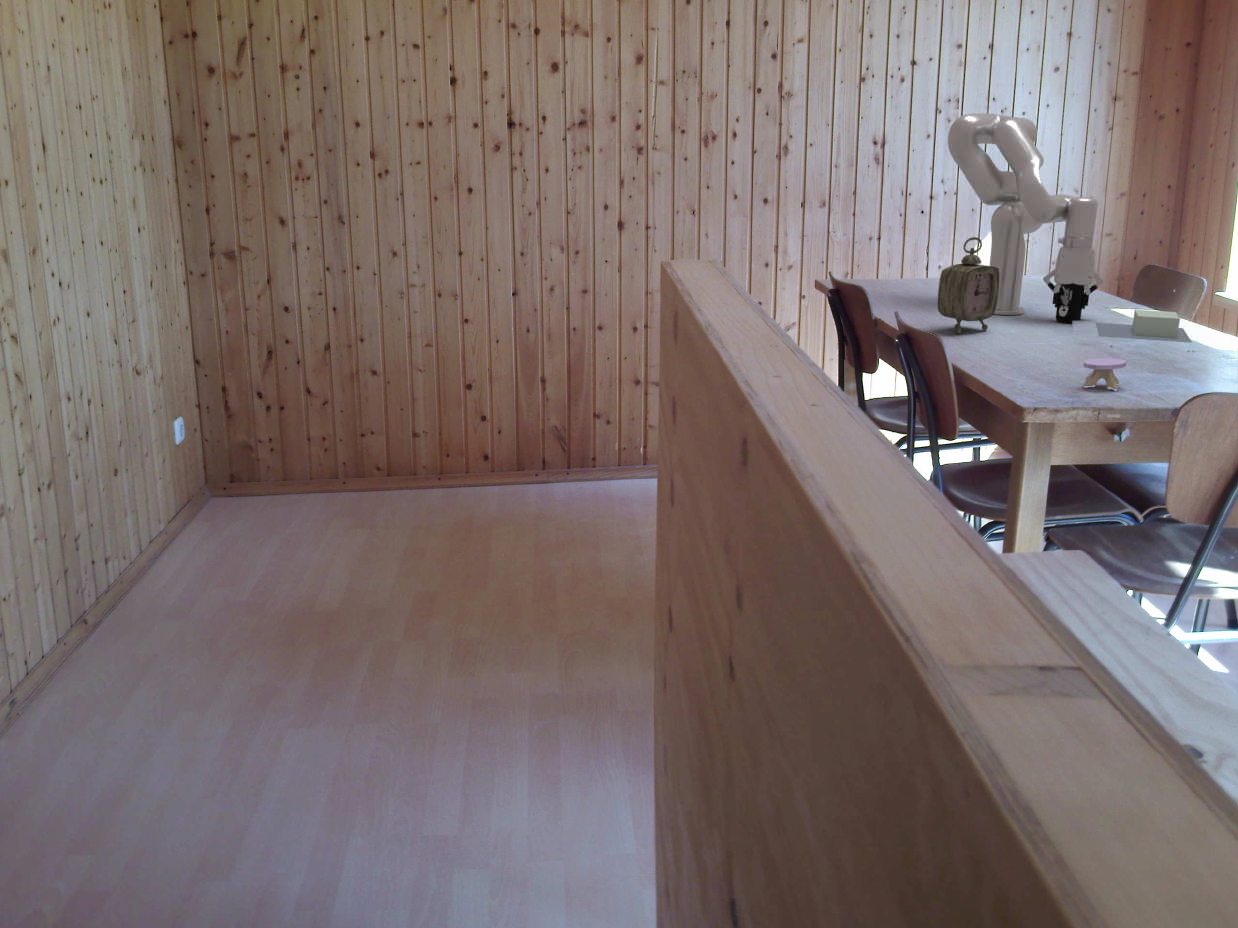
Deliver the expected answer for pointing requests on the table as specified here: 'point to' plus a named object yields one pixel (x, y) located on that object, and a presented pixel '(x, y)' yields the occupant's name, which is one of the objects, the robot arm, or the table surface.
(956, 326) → the tabletop clock
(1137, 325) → the plinth
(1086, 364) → the toy table
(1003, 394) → the table surface
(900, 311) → the table surface
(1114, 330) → the board
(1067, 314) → the beverage can
